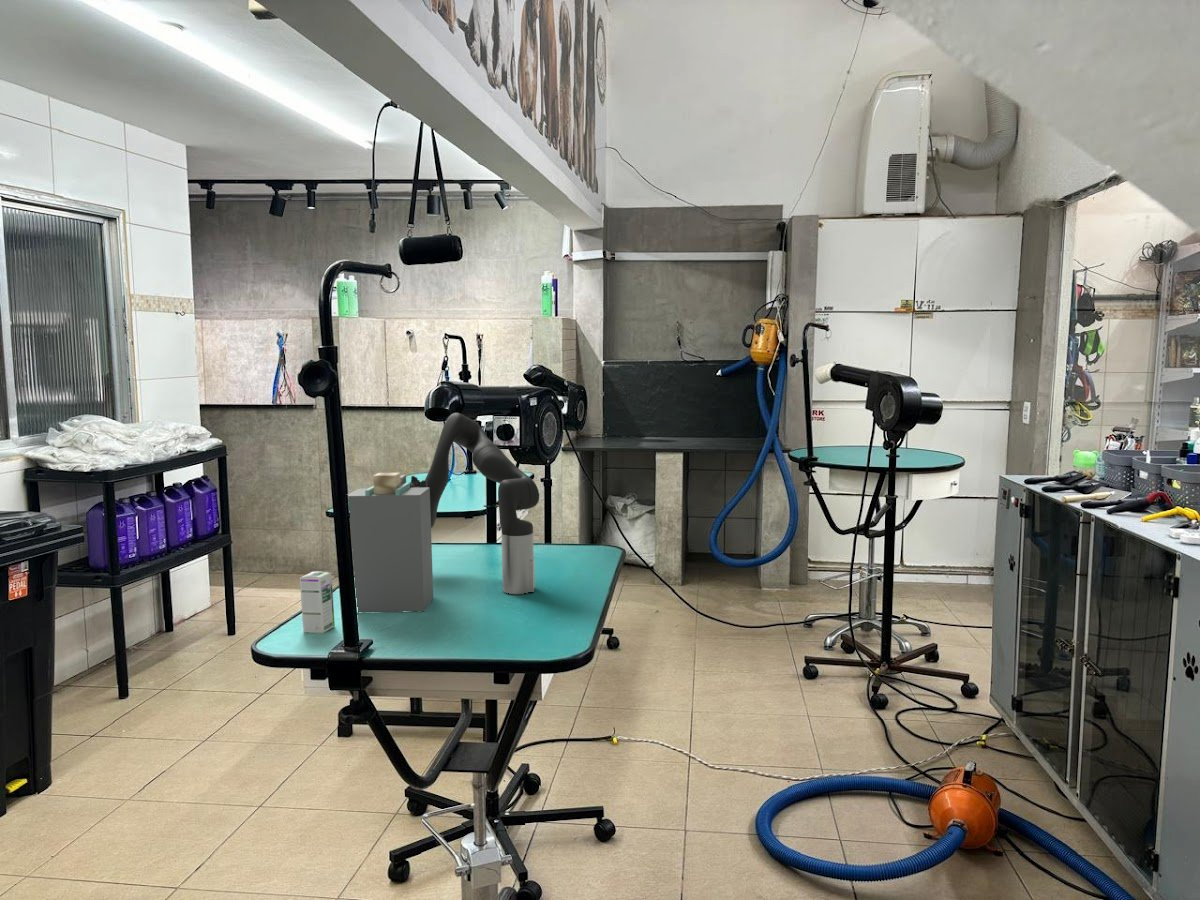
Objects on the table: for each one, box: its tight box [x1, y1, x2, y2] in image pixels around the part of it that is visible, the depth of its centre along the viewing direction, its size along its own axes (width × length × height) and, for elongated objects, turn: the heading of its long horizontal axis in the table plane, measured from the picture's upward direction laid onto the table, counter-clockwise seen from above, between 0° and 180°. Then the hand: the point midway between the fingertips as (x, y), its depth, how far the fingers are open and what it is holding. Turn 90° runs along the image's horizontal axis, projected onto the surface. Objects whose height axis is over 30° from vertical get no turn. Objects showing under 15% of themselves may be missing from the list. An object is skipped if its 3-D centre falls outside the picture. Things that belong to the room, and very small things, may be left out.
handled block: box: [372, 472, 407, 494], centre depth 239 cm, size 6×20×5 cm, turn 1°
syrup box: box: [299, 570, 336, 634], centre depth 214 cm, size 6×6×14 cm
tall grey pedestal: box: [347, 481, 434, 614], centre depth 234 cm, size 20×14×34 cm
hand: (397, 478), depth 244 cm, fingers open, 8 cm apart
